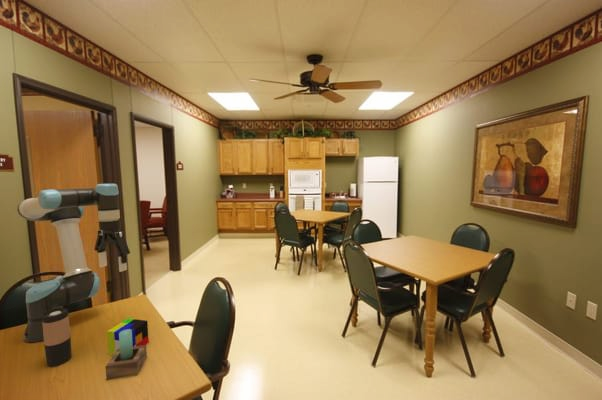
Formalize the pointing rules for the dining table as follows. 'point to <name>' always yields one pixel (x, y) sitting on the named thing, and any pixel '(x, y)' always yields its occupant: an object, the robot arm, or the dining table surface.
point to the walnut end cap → (126, 363)
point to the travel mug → (56, 336)
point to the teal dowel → (126, 345)
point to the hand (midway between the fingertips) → (113, 268)
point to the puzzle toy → (138, 334)
